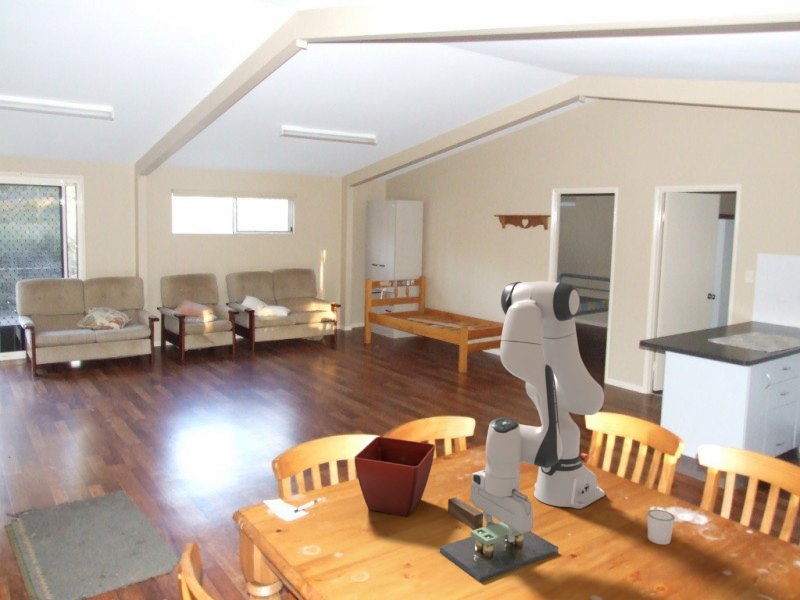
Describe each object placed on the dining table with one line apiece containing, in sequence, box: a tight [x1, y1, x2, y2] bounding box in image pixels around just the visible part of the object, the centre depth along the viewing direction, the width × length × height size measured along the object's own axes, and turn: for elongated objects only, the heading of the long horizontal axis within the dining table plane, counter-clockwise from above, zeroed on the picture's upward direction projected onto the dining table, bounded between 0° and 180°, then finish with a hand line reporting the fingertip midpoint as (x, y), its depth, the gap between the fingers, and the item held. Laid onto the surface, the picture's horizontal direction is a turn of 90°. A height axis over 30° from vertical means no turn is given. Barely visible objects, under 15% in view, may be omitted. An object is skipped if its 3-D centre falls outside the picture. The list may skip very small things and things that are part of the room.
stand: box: [447, 496, 484, 530], centre depth 189 cm, size 3×12×4 cm, turn 33°
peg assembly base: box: [439, 530, 559, 583], centre depth 170 cm, size 26×16×6 cm, turn 123°
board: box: [470, 521, 521, 546], centre depth 170 cm, size 14×6×1 cm, turn 123°
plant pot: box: [354, 436, 436, 517], centre depth 196 cm, size 19×19×17 cm
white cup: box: [646, 509, 675, 545], centre depth 179 cm, size 7×7×7 cm
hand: (499, 534), depth 170 cm, fingers closed on board, 6 cm apart
